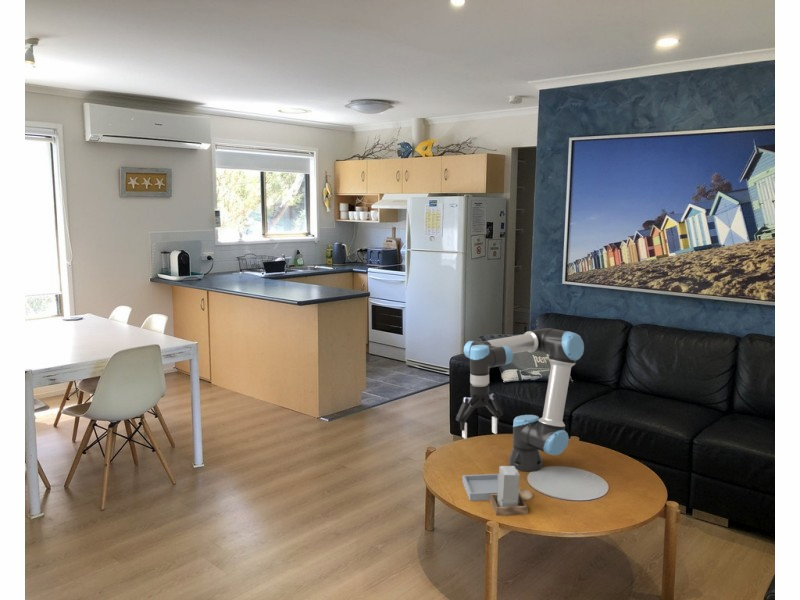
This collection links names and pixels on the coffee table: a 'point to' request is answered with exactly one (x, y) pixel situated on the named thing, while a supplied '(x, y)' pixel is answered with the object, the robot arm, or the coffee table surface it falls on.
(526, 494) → the curved potato chip
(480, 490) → the tray
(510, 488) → the skincare box
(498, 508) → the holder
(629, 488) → the coffee table surface
